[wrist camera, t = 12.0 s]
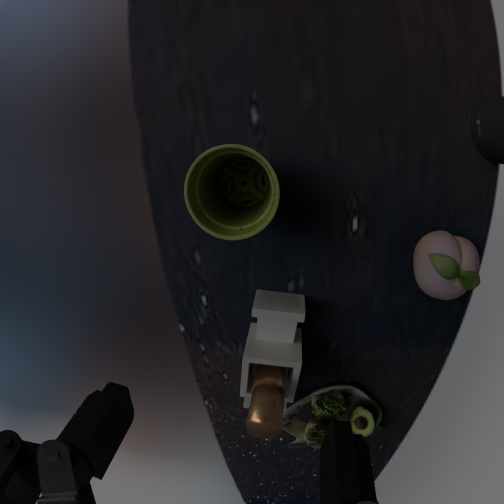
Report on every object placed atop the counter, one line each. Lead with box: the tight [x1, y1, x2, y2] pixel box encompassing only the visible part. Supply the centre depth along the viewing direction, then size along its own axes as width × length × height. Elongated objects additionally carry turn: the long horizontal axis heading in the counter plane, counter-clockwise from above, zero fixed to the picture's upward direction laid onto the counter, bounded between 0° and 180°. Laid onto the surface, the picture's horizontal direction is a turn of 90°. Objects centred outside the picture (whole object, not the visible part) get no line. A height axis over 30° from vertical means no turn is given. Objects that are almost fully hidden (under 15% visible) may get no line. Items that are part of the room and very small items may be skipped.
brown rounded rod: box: [246, 364, 286, 439], centre depth 35 cm, size 4×4×12 cm
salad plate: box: [283, 382, 383, 448], centre depth 47 cm, size 19×18×5 cm
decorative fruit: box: [413, 231, 480, 300], centre depth 33 cm, size 9×8×10 cm
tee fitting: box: [240, 289, 305, 412], centre depth 41 cm, size 7×18×8 cm, turn 175°
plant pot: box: [184, 144, 280, 240], centre depth 33 cm, size 9×9×9 cm
